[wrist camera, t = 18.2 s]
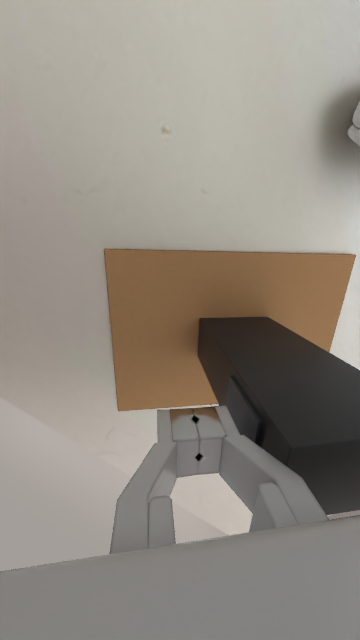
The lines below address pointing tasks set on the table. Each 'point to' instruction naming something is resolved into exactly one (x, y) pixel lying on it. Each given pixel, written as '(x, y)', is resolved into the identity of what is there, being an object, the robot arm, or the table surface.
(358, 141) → the headphones
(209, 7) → the table surface
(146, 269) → the mat
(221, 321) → the device
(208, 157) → the table surface
